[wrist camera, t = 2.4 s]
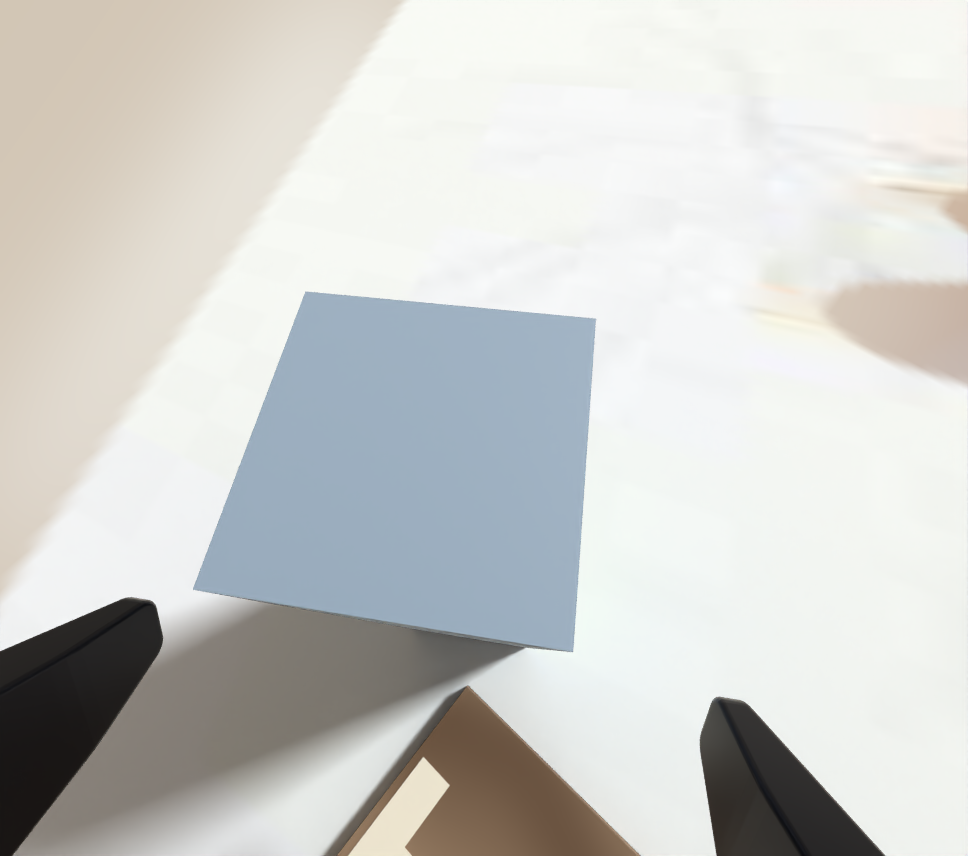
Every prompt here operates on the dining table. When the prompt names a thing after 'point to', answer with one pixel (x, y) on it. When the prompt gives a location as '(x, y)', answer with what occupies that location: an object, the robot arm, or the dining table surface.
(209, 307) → the dining table surface
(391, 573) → the slate-blue block
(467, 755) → the board
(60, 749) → the robot arm
